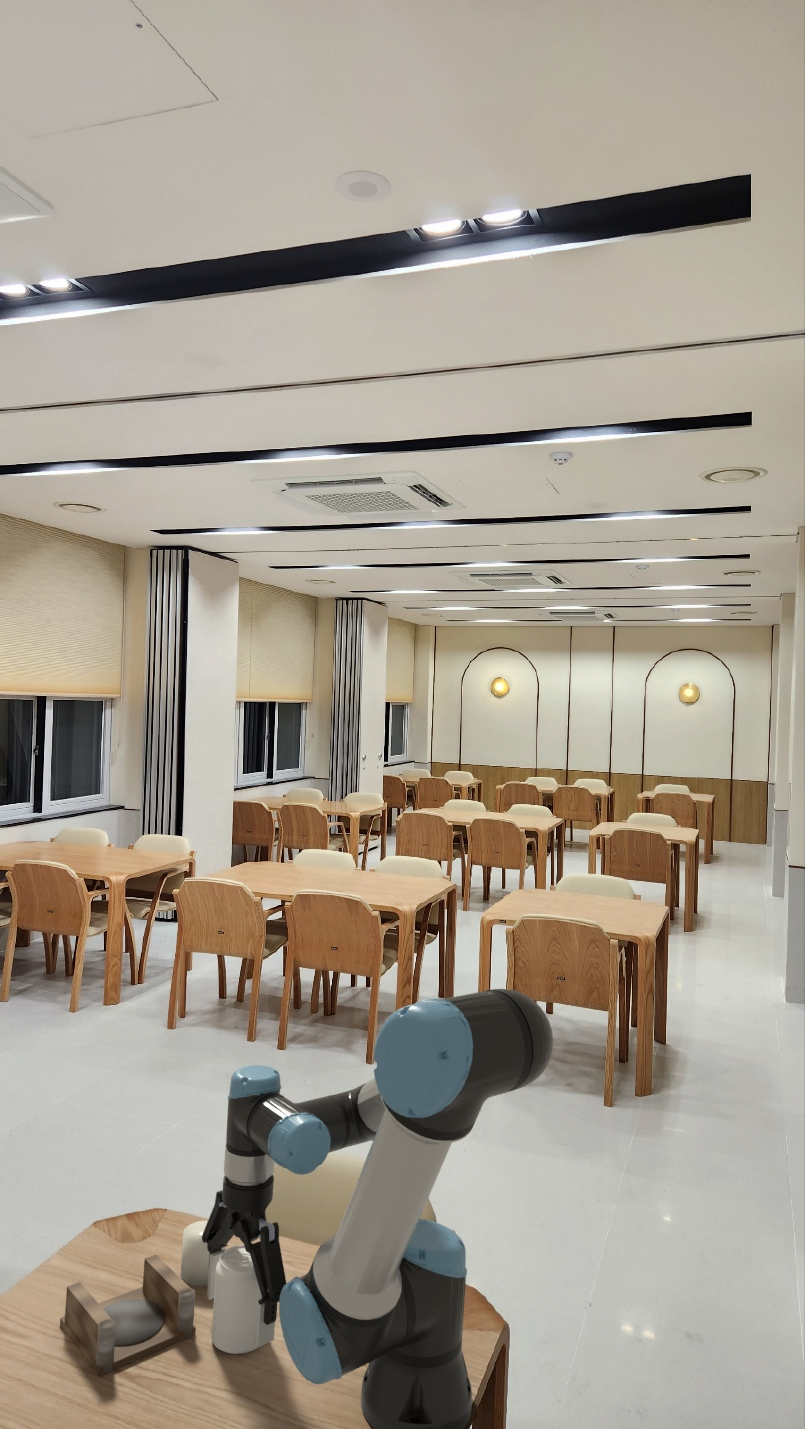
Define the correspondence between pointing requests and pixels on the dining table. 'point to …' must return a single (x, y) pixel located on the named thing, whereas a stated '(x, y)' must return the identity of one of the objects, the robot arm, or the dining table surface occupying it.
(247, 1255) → the beverage can
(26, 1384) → the dining table surface
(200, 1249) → the white pillar candle
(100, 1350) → the wooden holder
